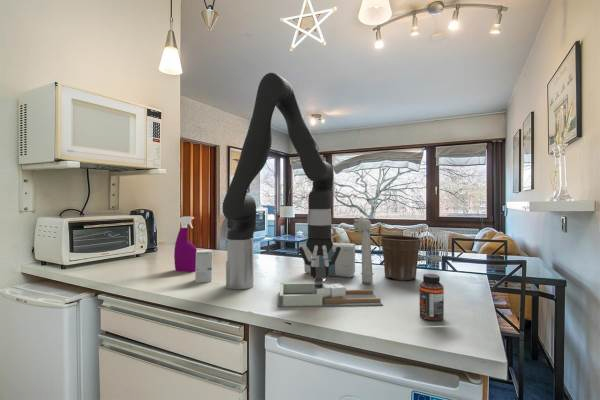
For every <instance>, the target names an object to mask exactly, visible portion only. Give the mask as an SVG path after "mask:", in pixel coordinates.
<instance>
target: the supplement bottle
mask: <svg viewBox="0 0 600 400" xmlns="http://www.w3.org/2000/svg"><path fill="white" fill-rule="evenodd" d="M422 276H423V277H422V279H423V280H422V281H421V282H420V283H419V293H418V294H419V315H420V317H421V318H422V319H424V320H427V321H432V322H439V321H442V320H444V315H445V313H444V309H445V308H444V304H445V302H444V301H445V300H444V297H445V295H444V294H445V293H444V290H445V289H444V285H443V284H442V283H441V282H440V280H441V279H440V275H438V274H436V273H424V274H423V275H422Z"/></svg>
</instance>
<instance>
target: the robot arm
mask: <svg viewBox="0 0 600 400" xmlns="http://www.w3.org/2000/svg"><path fill="white" fill-rule="evenodd" d="M254 102H255V103H254V107H253V110H252V115H251V119H250V123H249V125H248V130H247V133H246V136H245V138H244V141H243V145H242V148H241V151H240V155H239V159H238V162H237V165H236V167H235V171H234V173H233V177H232V179H231V182H230V184H229V187H228V189H227V191H226V193H225V196H224V198H223V203H222V213H223V216H224V218H226V219H227V220H230V221H234V225H233V226H232V227H231V228H230V229H229V230H228V231H227V233H226V234H227V235H226V237H227V238H226V239H227V243H226V246H227V249H226V252H227V253H226V255H227V257H226V258H227V260H226V261H225V289H229V290H235V291H237V290H246V289H251V288H253V286H254V234H255V231H256V226H257V205H256V200H255V198H254V197H253V196H252V195H250V194H248V190H249V188H250V187H251V186H250V185H251V184H252V182H253V181H254V180H255V178H256V177H257V176H258V174H259V173H260V172H261V171H262V169H264V167H265V165H266V164H267V161H268V158H269V154H270V152H271V149H272V141H273V139H272V118H273V114H274V112H275V107H276V108H277V109H278V110H279V112H280V113H281V115H282V116H283V118H284V121H285V124H286V127H287V133H288V137H289V139H290V141H291V144H292V146H293V148H294V149H295V151H296V154H297V155H298V156H299V161H300V164H301V168H302V170H303V172H304V174H305V176H306V178H308V180H310V181H311V182H312V189H311V190H310V191H309V193H308V199H307V200H308V201H307V203H308V206H307V207H308V210H307V211H308V212H307V220H306V221H307V241H306V243H304V244H303V245H299V246H298V251H299V253H300V255H301V257H302V260H303V263H304V262H305V264H306V265H309V266H310V274H309V275H310V276H311V277H312V280H314V279H315V260H316V256H319V255H321V256H323V259H324V267H325V271H326V279H327V277H329V276H330V275H329V266H330V265H334V263H335V261H336V259H337V257H338V254H339V252H340V250H341V248H340V247H339V246H336V245H334V244H333V243H334V242H333V241H332V238H331V237H332V212H331V193H332V189H333V188H332V187H333V181H334V170H333V168H332V165H331V164H330V163H329V162H327V161H324V160H323V158H322V157H321V155H320V152H319V146H318V145H319V144H318V143H317V141H316V139H315V137H314V136H313V134H312V132H311V130H310V128H309V125H308V124H307V122H306V120H305V118H304V116H303V114H302V112H301V109H300V106H299V104H298V101H297V99H296V95H295V92H294V89H293V86H292V85H291V83H290V82H289V81H288V80H287V79H285V78H284V77H282V76H281V75H279V74H277V73H276V72H268V73H266V74H264V76H263V77H262V78H261V79H260V81H259V84H258V87H257V91H256V96H255V101H254ZM332 247H333V255H332V257H331V259H330V260H329V261H328V255H327V254H328V252H329V251H330V249H331V248H332ZM306 248H308V249H309V250H310V252H311V253H312V255H311V261H309V260H308V259H307V257H306V255H305V252H306Z"/></svg>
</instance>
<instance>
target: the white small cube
mask: <svg viewBox="0 0 600 400" xmlns="http://www.w3.org/2000/svg"><path fill="white" fill-rule="evenodd" d="M327 285H328V286H329V287H331V298H345V290H346V286H344V285H342V284H341V283H331V284H330V283H329V284H327Z"/></svg>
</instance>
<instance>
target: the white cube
mask: <svg viewBox="0 0 600 400" xmlns="http://www.w3.org/2000/svg"><path fill="white" fill-rule="evenodd" d="M312 294H322V301H324V298H331V287H329V286H328V284H326V283H323V284H318V285H312Z"/></svg>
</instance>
